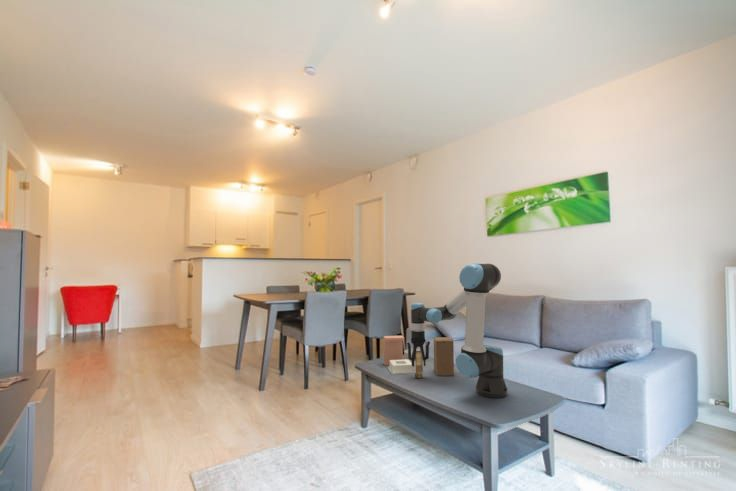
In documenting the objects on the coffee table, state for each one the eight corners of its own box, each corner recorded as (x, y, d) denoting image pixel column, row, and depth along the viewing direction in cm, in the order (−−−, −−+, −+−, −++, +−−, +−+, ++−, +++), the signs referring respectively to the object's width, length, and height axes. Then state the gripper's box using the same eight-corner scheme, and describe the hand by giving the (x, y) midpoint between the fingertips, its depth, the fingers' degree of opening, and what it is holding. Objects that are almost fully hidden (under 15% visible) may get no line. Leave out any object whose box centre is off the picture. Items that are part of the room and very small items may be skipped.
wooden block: (454, 375, 207) (453, 340, 208) (436, 375, 207) (436, 340, 208) (450, 370, 217) (450, 337, 218) (433, 370, 217) (433, 337, 218)
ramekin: (400, 360, 240) (400, 350, 240) (417, 358, 245) (417, 348, 245) (411, 365, 228) (411, 354, 228) (428, 363, 233) (428, 352, 233)
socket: (415, 373, 211) (415, 365, 211) (391, 374, 209) (391, 366, 209) (409, 366, 225) (409, 358, 225) (387, 367, 223) (387, 359, 223)
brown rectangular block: (404, 366, 225) (404, 337, 226) (385, 367, 224) (385, 338, 225) (402, 363, 232) (401, 335, 233) (383, 364, 231) (383, 336, 232)
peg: (423, 377, 202) (422, 352, 203) (416, 377, 201) (415, 352, 202) (421, 375, 206) (420, 350, 207) (414, 375, 205) (414, 350, 206)
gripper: (430, 328, 210) (431, 369, 209) (401, 329, 208) (402, 370, 206) (434, 331, 202) (435, 373, 201) (404, 332, 200) (405, 374, 199)
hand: (418, 371), depth 204 cm, fingers closed on peg, 4 cm apart
